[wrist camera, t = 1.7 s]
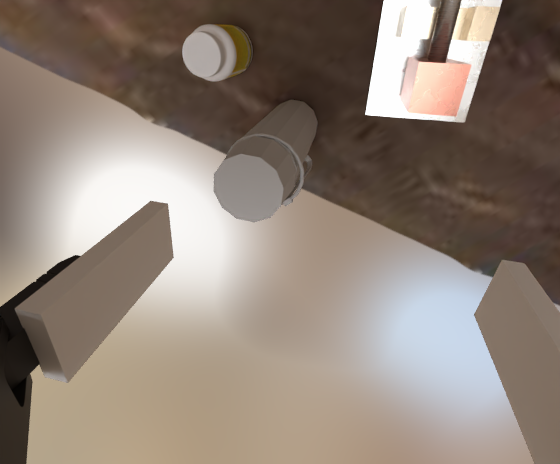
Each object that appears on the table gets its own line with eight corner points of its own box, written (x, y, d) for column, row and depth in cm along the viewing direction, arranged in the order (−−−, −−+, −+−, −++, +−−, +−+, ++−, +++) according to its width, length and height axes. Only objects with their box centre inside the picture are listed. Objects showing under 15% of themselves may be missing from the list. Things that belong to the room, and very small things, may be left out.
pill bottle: (231, 13, 45) (198, 8, 36) (262, 52, 47) (238, 57, 38) (203, 48, 48) (165, 52, 39) (233, 84, 50) (203, 96, 40)
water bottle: (259, 118, 52) (190, 178, 30) (301, 85, 48) (255, 127, 27) (295, 167, 54) (254, 252, 33) (337, 139, 51) (320, 215, 30)
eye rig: (407, -150, 35) (425, -221, 25) (546, -155, 33) (625, -234, 23) (365, 113, 48) (366, 134, 38) (462, 120, 46) (490, 144, 36)
